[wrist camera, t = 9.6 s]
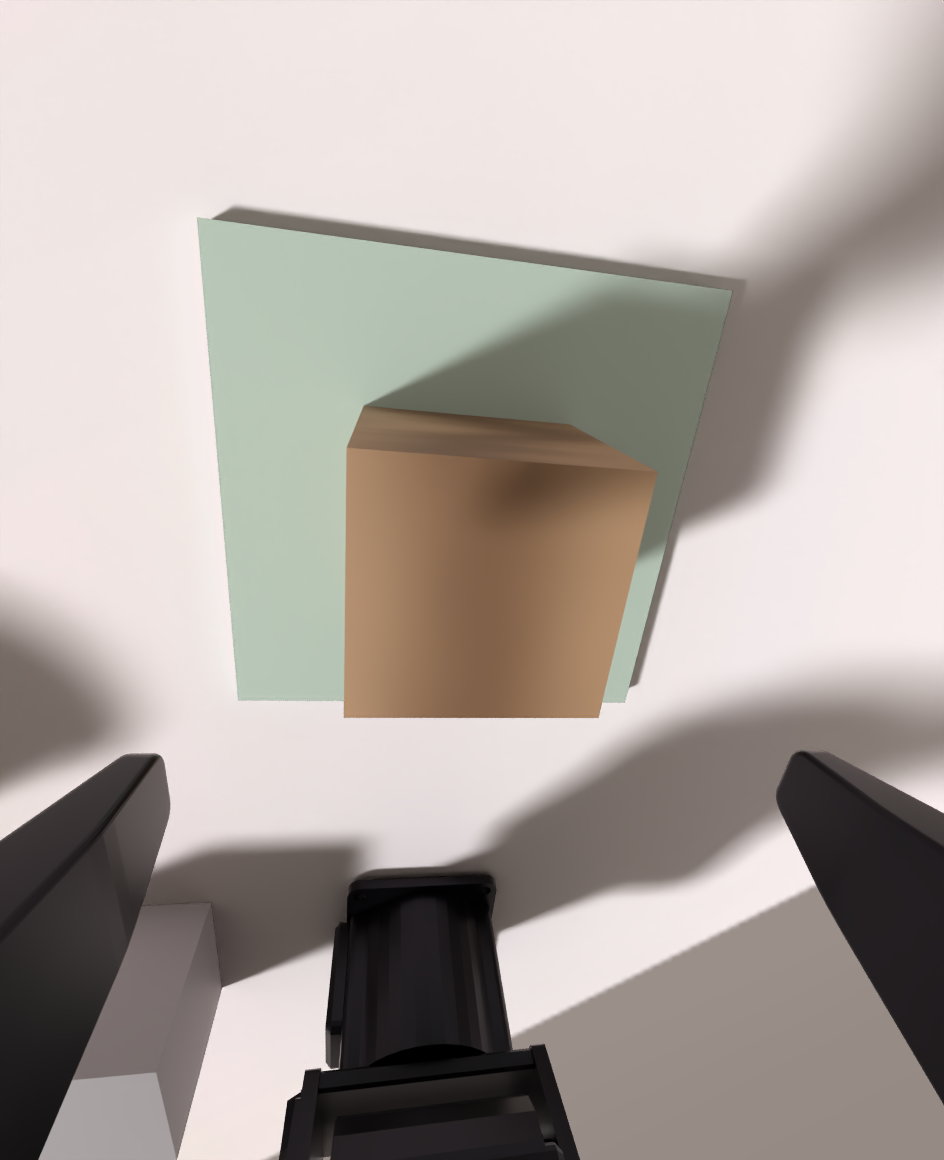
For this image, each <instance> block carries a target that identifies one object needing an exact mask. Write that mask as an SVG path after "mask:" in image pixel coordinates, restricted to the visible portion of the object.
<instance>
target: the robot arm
mask: <svg viewBox="0 0 944 1160" xmlns="http://www.w3.org/2000/svg"><path fill="white" fill-rule="evenodd" d="M776 800H777V804H778V807H779V810H780V812H781V814H782V816H783V818H784V820H785V822H786V824H787V826H788V828H789V830H790V832H791V834H792V836H793V838H794V840H795V842H796V844H797V847H798V849H799V851H800V853H801V855H802V857H803V859H804V861H805V863H806V865H807V867H808V869H809V871H810V873H811V875H812V877H813V879H814V882H815V884H816V886H817V888H818V890H819V892H820V894H821V896H822V898H823V899H824V901H825V903H826V905H827V907H828V909H829V911H830V913H831V914H832V916H833V918H834V920H835V922H836V923H837V925H838V927H839V928H840V930H841V932H842V934H843V935H844V937H845V939H846V940H847V942H848V944H849V945H850V947H851V949H852V950H853V952H854V954H855V955H856V957H857V959H858V961H859V962H860V964H861V966H862V967H863V969H864V971H865V972H866V974H867V976H868V978H869V979H870V981H871V983H872V984H873V986H874V988H875V989H876V991H877V993H878V995H879V996H880V998H881V1000H882V1001H883V1003H884V1005H885V1006H886V1008H887V1009H888V1011H889V1013H890V1015H891V1016H892V1018H893V1020H894V1021H895V1023H896V1025H897V1027H898V1028H899V1030H900V1031H901V1033H902V1035H903V1037H904V1039H905V1040H906V1042H907V1044H908V1045H909V1047H910V1049H911V1050H912V1052H913V1054H914V1055H915V1057H916V1059H917V1061H918V1062H919V1064H920V1065H921V1067H922V1069H923V1071H924V1072H925V1074H926V1076H927V1077H928V1079H929V1081H930V1082H931V1084H932V1086H933V1088H934V1089H935V1091H936V1093H937V1094H938V1096H939V1098H940V1099H941V1101H942V1103H943V1105H944V813H942V812H940V811H938V810H937V809H935V808H933V807H931V806H929V805H927V804H925V803H923V802H921V801H919V800H917V799H916V798H914V797H912V796H910V795H908V794H906V793H904V792H902V791H900V790H898V789H897V788H895V787H893V786H891V785H889V784H887V783H885V782H883V781H881V780H879V779H878V778H876V777H874V776H872V775H870V774H868V773H866V772H864V771H862V770H860V769H859V768H857V767H855V766H853V765H851V764H849V763H847V762H845V761H843V760H841V759H839V758H838V757H836V756H834V755H832V754H830V753H828V752H825V751H821V750H800V751H797V752H795V753H794V754H793V755H792V756H791V758H790V760H789V763H788V765H787V767H786V769H785V772H784V774H783V776H782V779H781V781H780V783H779V786H778V788H777V792H776ZM169 814H170V796H169V790H168V783H167V777H166V770H165V764H164V760H163V758H162V757H161V756H160V755H158V754H155V753H150V754H126V755H123V756H121V757H120V758H118V759H117V760H115V761H114V762H112V763H111V764H109V765H108V766H107V767H105V768H104V769H102V770H101V771H99V772H98V773H97V774H95V775H94V776H92V777H91V778H89V779H88V780H87V781H85V782H84V783H82V784H81V785H79V786H78V787H77V788H75V789H74V790H72V791H71V792H69V793H68V794H66V795H65V796H64V797H62V798H61V799H59V800H58V801H56V802H55V803H54V804H52V805H51V806H49V807H48V808H46V809H45V810H44V811H42V812H41V813H39V814H38V815H36V816H35V817H33V818H32V819H31V820H29V821H28V822H26V823H25V824H23V825H22V826H21V827H19V828H18V829H16V830H15V831H13V832H12V833H11V834H9V835H8V836H6V837H5V838H3V839H2V840H1V841H0V1160H39V1157H40V1155H41V1153H42V1150H43V1148H44V1146H45V1143H46V1141H47V1139H48V1136H49V1134H50V1132H51V1129H52V1127H53V1125H54V1122H55V1120H56V1117H57V1115H58V1113H59V1110H60V1108H61V1106H62V1103H63V1101H64V1099H65V1096H66V1094H67V1092H68V1089H69V1087H70V1085H71V1082H72V1080H73V1078H74V1075H75V1073H76V1070H77V1068H78V1066H79V1063H80V1061H81V1059H82V1056H83V1054H84V1052H85V1049H86V1047H87V1045H88V1042H89V1040H90V1038H91V1035H92V1033H93V1031H94V1028H95V1026H96V1023H97V1021H98V1019H99V1016H100V1014H101V1012H102V1009H103V1007H104V1005H105V1002H106V1000H107V998H108V995H109V993H110V991H111V988H112V986H113V984H114V981H115V979H116V977H117V974H118V972H119V969H120V967H121V964H122V962H123V959H124V957H125V954H126V952H127V949H128V947H129V944H130V941H131V938H132V935H133V932H134V929H135V926H136V923H137V919H138V916H139V913H140V910H141V906H142V903H143V900H144V897H145V894H146V890H147V887H148V884H149V881H150V877H151V874H152V871H153V868H154V865H155V861H156V858H157V855H158V852H159V849H160V845H161V842H162V839H163V836H164V832H165V829H166V826H167V823H168V819H169ZM495 895H496V885H495V879H494V878H493V877H492V876H490V875H473V876H451V877H429V878H407V879H385V880H362V881H355V882H353V883H351V885H350V886H349V888H348V896H347V922H340V923H339V924H338V926H337V927H336V928H335V937H334V947H333V957H332V967H331V977H330V988H329V998H328V1008H327V1018H326V1063H327V1065H328V1066H329V1067H330V1069H334V1068H339V1070H330V1071H321V1068H318V1069H309V1070H305V1075H304V1081H303V1087H302V1090H301V1092H300V1093H299V1094H297V1095H296V1096H294V1097H293V1098H291V1099H290V1100H288V1101H287V1108H286V1115H285V1122H284V1129H283V1136H282V1143H281V1150H280V1156H279V1160H323V1157H329V1156H331V1159H330V1160H580V1158H579V1155H578V1152H577V1148H576V1145H575V1142H574V1139H573V1135H572V1132H571V1129H570V1126H569V1122H568V1119H567V1116H566V1112H565V1109H564V1106H563V1103H562V1099H561V1096H560V1093H559V1090H558V1086H557V1083H556V1080H555V1076H554V1073H553V1070H552V1067H551V1063H550V1060H549V1057H548V1053H547V1050H546V1047H545V1044H536V1045H530V1047H529V1048H528V1049H519V1050H513V1048H512V1042H511V1036H510V1030H509V1024H508V1017H507V1011H506V1005H505V999H504V993H503V987H502V981H501V975H500V969H499V962H498V956H497V950H496V944H495V938H494V932H493V926H492V920H491V918H492V912H493V906H494V901H495Z"/></svg>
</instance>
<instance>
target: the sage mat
mask: <svg viewBox="0 0 944 1160" xmlns="http://www.w3.org/2000/svg"><path fill="white" fill-rule="evenodd" d="M197 223H198V235H199V246H200V258H201V270H202V282H203V293H204V305H205V317H206V329H207V340H208V352H209V364H210V376H211V387H212V399H213V411H214V423H215V434H216V446H217V458H218V470H219V481H220V493H221V505H222V517H223V528H224V540H225V552H226V564H227V575H228V587H229V599H230V610H231V622H232V634H233V646H234V657H235V669H236V681H237V693H238V700H270V701H344V649H345V548H346V448H347V445H348V443H349V440H350V438H351V436H352V433H353V431H354V428H355V426H356V423H357V421H358V418H359V416H360V414H361V411H362V409H363V406H371V407H383V408H394V409H405V410H416V411H427V412H438V413H449V414H460V415H472V416H483V417H494V418H505V419H516V420H527V421H538V422H549V423H560V424H570V425H572V426H574V427H576V428H578V429H579V430H581V431H583V432H585V433H587V434H589V435H590V436H592V437H594V438H596V439H598V440H600V441H602V442H603V443H605V444H607V445H609V446H611V447H613V448H615V449H616V450H618V451H620V452H622V453H624V454H626V455H627V456H629V457H631V458H633V459H635V460H637V461H639V462H640V463H642V464H644V465H646V466H648V467H650V468H652V469H653V470H655V471H657V472H658V473H657V477H656V482H655V486H654V490H653V494H652V498H651V502H650V506H649V511H648V515H647V519H646V523H645V527H644V531H643V535H642V539H641V544H640V548H639V552H638V556H637V560H636V564H635V568H634V572H633V577H632V581H631V585H630V589H629V593H628V597H627V601H626V606H625V610H624V614H623V618H622V622H621V626H620V630H619V634H618V639H617V643H616V647H615V651H614V655H613V659H612V663H611V668H610V672H609V676H608V680H607V684H606V688H605V692H604V696H603V701H602V702H611V703H625V700H626V696H627V692H628V689H629V685H630V681H631V677H632V673H633V670H634V666H635V662H636V658H637V654H638V651H639V647H640V643H641V639H642V635H643V631H644V628H645V624H646V620H647V616H648V612H649V609H650V605H651V601H652V597H653V593H654V590H655V586H656V582H657V578H658V574H659V571H660V567H661V563H662V559H663V555H664V551H665V548H666V544H667V540H668V536H669V532H670V529H671V525H672V521H673V517H674V513H675V510H676V506H677V502H678V498H679V494H680V490H681V487H682V483H683V479H684V475H685V471H686V468H687V464H688V460H689V456H690V452H691V449H692V445H693V441H694V437H695V433H696V429H697V426H698V422H699V418H700V414H701V410H702V407H703V403H704V399H705V395H706V391H707V388H708V384H709V380H710V376H711V372H712V369H713V365H714V361H715V357H716V353H717V349H718V346H719V342H720V338H721V334H722V330H723V327H724V323H725V319H726V315H727V311H728V308H729V304H730V300H731V296H732V292H733V291H731V290H724V289H716V288H709V287H702V286H695V285H687V284H680V283H673V282H665V281H658V280H651V279H644V278H636V277H629V276H622V275H614V274H607V273H600V272H592V271H585V270H578V269H571V268H563V267H556V266H549V265H541V264H534V263H527V262H519V261H512V260H505V259H498V258H490V257H483V256H476V255H468V254H461V253H454V252H446V251H439V250H432V249H425V248H417V247H410V246H403V245H395V244H388V243H381V242H373V241H366V240H359V239H352V238H344V237H337V236H330V235H322V234H315V233H308V232H300V231H293V230H286V229H279V228H271V227H264V226H257V225H249V224H242V223H235V222H228V221H220V220H213V219H206V218H198V217H197Z"/></svg>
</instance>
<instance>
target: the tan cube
mask: <svg viewBox="0 0 944 1160" xmlns="http://www.w3.org/2000/svg"><path fill="white" fill-rule="evenodd" d="M657 473H658V472H657V471H655V470H653V469H652V468H650V467H648V466H646V465H644V464H642V463H640V462H639V461H637V460H635V459H633V458H631V457H629V456H627V455H626V454H624V453H622V452H620V451H618V450H616V449H615V448H613V447H611V446H609V445H607V444H605V443H603V442H602V441H600V440H598V439H596V438H594V437H592V436H590V435H589V434H587V433H585V432H583V431H581V430H579V429H578V428H576V427H574V426H572V425H570V424H560V423H549V422H538V421H527V420H516V419H505V418H494V417H483V416H472V415H460V414H449V413H438V412H427V411H416V410H405V409H394V408H383V407H371V406H363V409H362V411H361V414H360V416H359V418H358V421H357V423H356V426H355V428H354V431H353V433H352V436H351V438H350V440H349V443H348V445H347V448H346V548H345V649H344V718H598V717H599V713H600V709H601V705H602V701H603V696H604V692H605V688H606V684H607V680H608V676H609V672H610V668H611V663H612V659H613V655H614V651H615V647H616V643H617V639H618V634H619V630H620V626H621V622H622V618H623V614H624V610H625V606H626V601H627V597H628V593H629V589H630V585H631V581H632V577H633V572H634V568H635V564H636V560H637V556H638V552H639V548H640V544H641V539H642V535H643V531H644V527H645V523H646V519H647V515H648V511H649V506H650V502H651V498H652V494H653V490H654V486H655V482H656V477H657Z"/></svg>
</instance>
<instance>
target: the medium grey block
mask: <svg viewBox="0 0 944 1160" xmlns="http://www.w3.org/2000/svg"><path fill="white" fill-rule="evenodd" d="M221 990H222V984H221V976H220V968H219V961H218V953H217V945H216V938H215V930H214V922H213V915H212V907H211V902H206V903H185V904H164V905H143V906H141V910H140V913H139V916H138V919H137V923H136V926H135V929H134V932H133V935H132V938H131V941H130V944H129V947H128V949H127V952H126V954H125V957H124V959H123V962H122V964H121V967H120V969H119V972H118V974H117V977H116V979H115V981H114V984H113V986H112V988H111V991H110V993H109V995H108V998H107V1000H106V1002H105V1005H104V1007H103V1009H102V1012H101V1014H100V1016H99V1019H98V1021H97V1023H96V1026H95V1028H94V1031H93V1033H92V1035H91V1038H90V1040H89V1042H88V1045H87V1047H86V1049H85V1052H84V1054H83V1056H82V1059H81V1061H80V1063H79V1066H78V1068H77V1070H76V1073H75V1075H74V1078H73V1080H72V1082H71V1085H70V1087H69V1089H68V1092H67V1094H66V1096H65V1099H64V1101H63V1103H62V1106H61V1108H60V1110H59V1113H58V1115H57V1117H56V1120H55V1122H54V1125H53V1127H52V1129H51V1132H50V1134H49V1136H48V1139H47V1141H46V1143H45V1146H44V1148H43V1150H42V1153H41V1155H40V1157H39V1160H177V1157H178V1154H179V1150H180V1146H181V1142H182V1138H183V1135H184V1131H185V1127H186V1123H187V1119H188V1116H189V1112H190V1108H191V1104H192V1100H193V1097H194V1093H195V1089H196V1085H197V1081H198V1078H199V1074H200V1070H201V1066H202V1062H203V1058H204V1055H205V1051H206V1047H207V1043H208V1039H209V1036H210V1032H211V1028H212V1024H213V1020H214V1017H215V1013H216V1009H217V1005H218V1001H219V998H220V994H221Z"/></svg>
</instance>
